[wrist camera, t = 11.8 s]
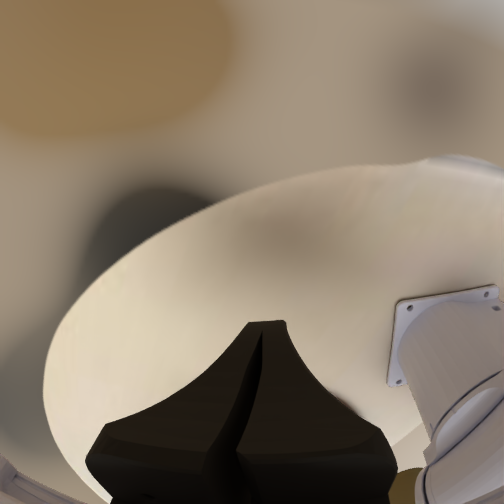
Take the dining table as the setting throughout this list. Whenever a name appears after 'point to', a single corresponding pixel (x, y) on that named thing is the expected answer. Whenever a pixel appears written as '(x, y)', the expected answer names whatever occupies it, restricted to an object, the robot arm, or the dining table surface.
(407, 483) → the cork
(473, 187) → the dining table surface
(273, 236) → the dining table surface
